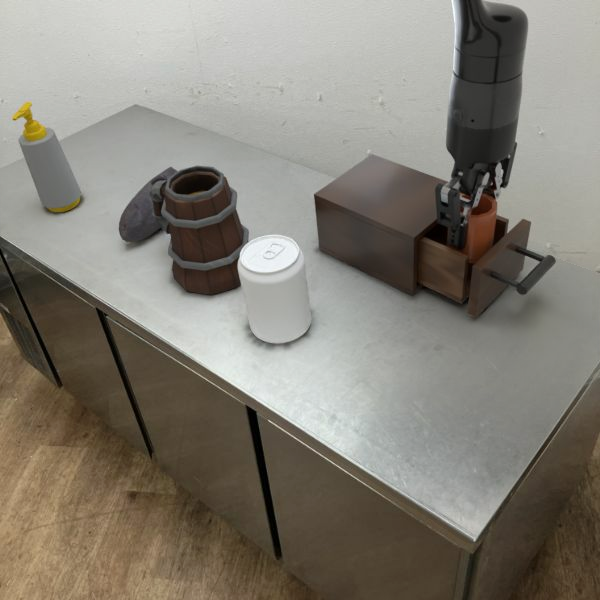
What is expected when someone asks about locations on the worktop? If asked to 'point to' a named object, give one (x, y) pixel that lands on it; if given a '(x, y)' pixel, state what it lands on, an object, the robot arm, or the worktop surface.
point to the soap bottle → (47, 164)
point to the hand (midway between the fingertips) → (470, 233)
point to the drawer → (479, 265)
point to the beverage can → (275, 288)
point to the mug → (201, 228)
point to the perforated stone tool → (141, 212)
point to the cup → (479, 228)
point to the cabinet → (378, 219)
